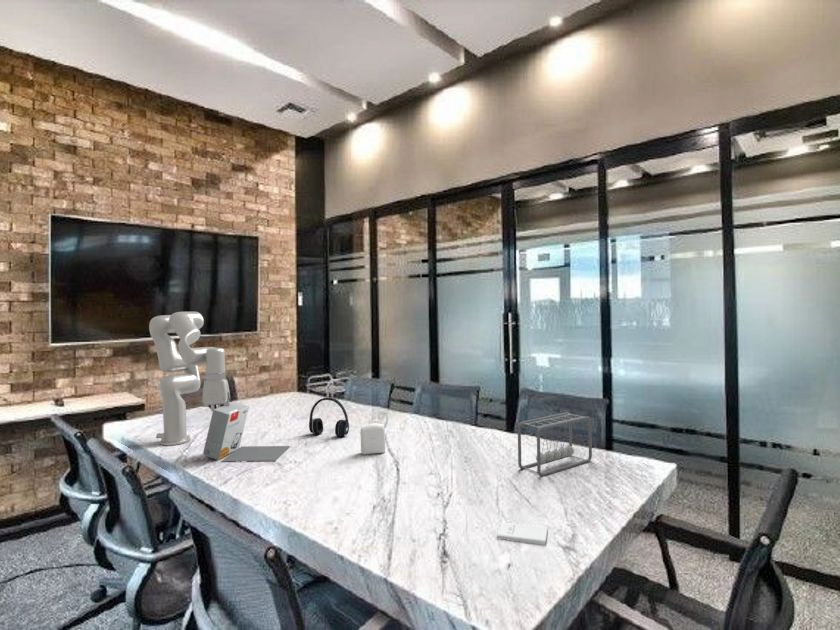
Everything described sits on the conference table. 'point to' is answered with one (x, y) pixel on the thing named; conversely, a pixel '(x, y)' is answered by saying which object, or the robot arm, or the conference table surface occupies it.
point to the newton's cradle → (555, 453)
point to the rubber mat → (256, 453)
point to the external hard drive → (523, 533)
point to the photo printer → (372, 438)
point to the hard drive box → (225, 430)
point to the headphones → (317, 423)
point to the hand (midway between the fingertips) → (217, 419)
